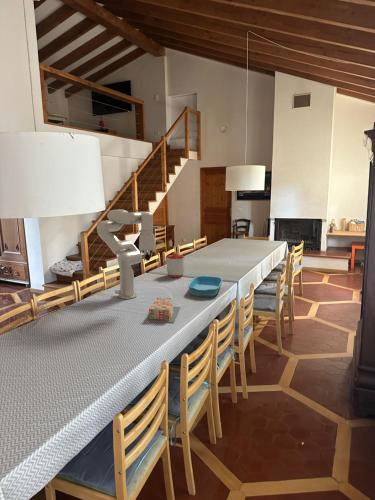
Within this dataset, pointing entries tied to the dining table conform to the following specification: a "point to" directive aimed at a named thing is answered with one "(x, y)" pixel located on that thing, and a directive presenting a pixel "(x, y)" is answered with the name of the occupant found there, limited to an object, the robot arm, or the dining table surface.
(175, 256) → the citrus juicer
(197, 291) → the casserole dish
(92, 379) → the dining table surface
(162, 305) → the stack of blocks
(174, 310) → the mat
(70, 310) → the dining table surface
